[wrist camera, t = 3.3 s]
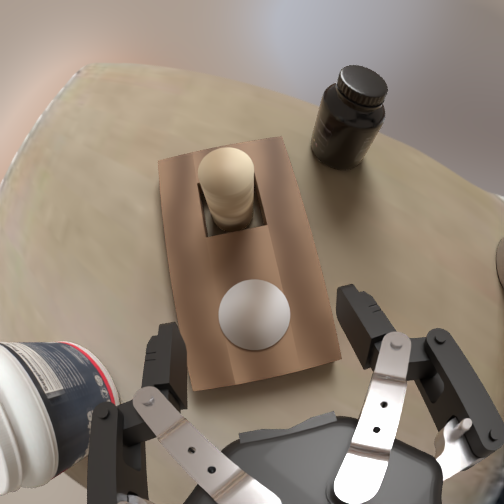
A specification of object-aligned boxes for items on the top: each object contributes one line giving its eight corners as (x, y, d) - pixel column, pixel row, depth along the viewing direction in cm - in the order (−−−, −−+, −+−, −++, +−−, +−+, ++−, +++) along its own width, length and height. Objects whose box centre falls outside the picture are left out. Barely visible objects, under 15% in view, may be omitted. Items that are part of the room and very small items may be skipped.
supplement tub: (106, 461, 23) (15, 530, 5) (32, 398, 24) (-72, 417, 7) (142, 382, 26) (24, 436, 8) (59, 319, 27) (-66, 301, 9)
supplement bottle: (351, 126, 33) (380, 61, 22) (369, 169, 32) (411, 108, 20) (302, 129, 33) (319, 57, 21) (318, 174, 32) (346, 105, 20)
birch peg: (248, 190, 31) (247, 143, 22) (257, 227, 30) (259, 189, 21) (209, 198, 31) (194, 153, 22) (215, 235, 30) (202, 200, 21)
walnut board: (279, 148, 32) (281, 135, 30) (334, 356, 27) (342, 359, 24) (163, 171, 32) (157, 159, 29) (198, 385, 26) (192, 391, 23)
